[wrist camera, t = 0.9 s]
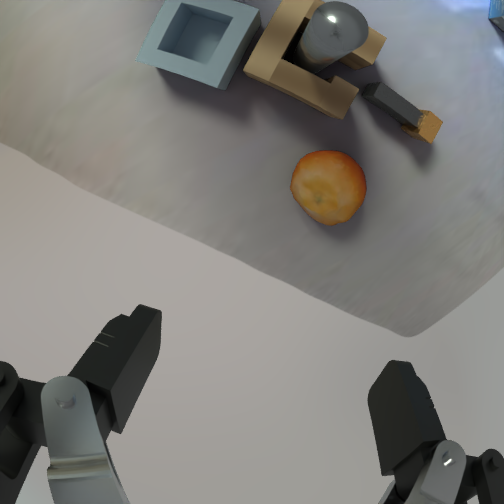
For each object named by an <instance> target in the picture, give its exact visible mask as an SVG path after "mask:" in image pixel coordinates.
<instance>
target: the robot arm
mask: <svg viewBox="0 0 504 504" xmlns="http://www.w3.org/2000/svg"><path fill="white" fill-rule="evenodd" d="M161 321H162V312H161V311H160V310H157V309H154V308H151V307H148V306H144V305H141V304H140V305H138V306H137V307H136V309H135V310H134V311H133V312H132V314H131V315H130V317H129V316H126V315H123V314H121V315H119V316H117V317H115V318H114V319H112V320H110V321H109V322H108V323H107V324H106V326H105V327H104V328H103V330H102V331H101V333H100V334H99V335H98V336H97V337H96V339H95V340H94V342H93V343H92V344H91V345H90V346H89V348H88V349H87V350H86V352H85V353H84V354H83V356H82V357H81V358H80V360H79V361H78V362H77V364H76V365H75V366H74V368H73V370H72V371H71V372H70V373H69V374H68V375H67V376H59V377H56V378H53V379H51V380H50V381H48V382H47V383H41V382H36V381H31V380H27V379H23V378H19V377H18V374H17V373H16V370H15V369H14V368H13V366H12V365H10V364H9V363H6V362H3V361H0V504H15V502H16V500H17V497H18V495H19V492H20V490H21V488H22V486H23V483H24V481H25V479H26V476H27V474H28V472H29V470H30V467H31V465H32V463H33V461H34V459H35V457H36V455H37V453H38V451H39V449H40V447H41V446H45V447H48V452H49V456H50V463H51V464H50V467H48V469H47V476H48V482H49V486H50V490H51V493H52V497H53V500H54V503H55V504H130V502H129V500H128V498H127V496H126V494H125V492H124V490H123V487H122V485H121V482H120V480H119V477H118V474H117V472H116V470H115V466H114V464H113V461H112V458H111V455H110V452H109V449H108V446H107V443H106V440H107V437H108V435H109V433H110V431H111V430H112V431H114V432H117V433H119V434H121V433H122V431H123V429H124V427H125V425H126V422H127V420H128V418H129V416H130V414H131V412H132V409H133V408H134V405H135V403H136V401H137V399H138V397H139V395H140V393H141V391H142V389H143V387H144V384H145V382H146V380H147V378H148V376H149V374H150V372H151V370H152V368H153V366H154V364H155V362H156V360H157V357H158V354H159V350H160V343H161ZM430 398H431V397H430V394H429V392H428V389H427V387H426V385H425V384H424V383H423V382H422V381H421V379H420V378H419V377H418V376H417V375H416V373H415V371H414V368H413V366H412V364H411V363H410V362H404V361H396V360H391V361H389V362H388V363H387V365H386V366H385V368H384V369H383V371H382V372H381V374H380V375H379V377H378V378H377V380H376V381H375V382H374V384H373V385H372V387H371V389H370V391H369V394H368V406H369V411H370V416H371V420H372V425H373V430H374V435H375V440H376V445H377V451H378V456H379V462H380V468H381V474H382V476H387V475H394V476H395V480H393V481H392V482H391V483H390V485H389V486H388V488H387V490H386V492H385V493H384V495H383V497H382V498H381V500H380V502H379V503H378V504H467V500H469V499H471V498H472V497H474V496H475V495H478V500H479V504H504V458H503V456H502V455H501V454H500V453H499V452H498V451H497V450H495V449H488V450H486V451H485V452H484V453H483V454H482V455H480V456H479V457H474V456H468V455H465V452H464V450H463V449H462V447H461V446H460V445H459V444H458V443H456V442H454V441H452V440H447V439H446V437H445V434H444V431H443V428H442V425H441V423H440V420H439V417H438V415H437V412H436V409H435V408H434V404H433V402H432V400H431V399H430Z"/></svg>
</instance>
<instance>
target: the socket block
mask: <svg viewBox="0 0 504 504" xmlns="http://www.w3.org/2000/svg"><path fill="white" fill-rule="evenodd" d="M324 3H325V2H323V1H321V0H282V2H281V3H280V5H279V7H278V8H277V10H276V12H275V13H274V15H273V17H272V18H271V20H270V22H269V24H268V25H267V27H266V29H265V31H264V32H263V34H262V36H261V38H260V39H259V41H258V43H257V45H256V47H255V48H254V50H253V52H252V54H251V56H250V58H249V60H248V61H247V63H246V65H245V67H244V69H243V71H244V72H245V74H246V75H247V76H248V77H250V78H253V79H255V80H257V81H260V82H262V83H264V84H266V85H269V86H271V87H273V88H275V89H277V90H279V91H281V92H284V93H286V94H288V95H290V96H292V97H294V98H296V99H298V100H300V101H302V102H304V103H305V104H307V105H309V106H311V107H313V108H315V109H317V110H319V111H320V112H322V113H324V114H326V115H328V116H329V117H333V118H337V119H341V120H343V118H344V116H345V114H346V112H347V111H348V109H349V107H350V105H351V103H352V102H353V100H354V98H355V96H356V94H357V92H358V91H359V89H358V88H356V87H355V86H353V85H352V84H350V83H348V82H347V81H345V80H343V79H341V78H340V77H338V76H336V75H335V76H333V77H330V78H328V79H325V80H323V79H321V78H319V77H317V76H315V75H314V74H312V73H310V72H308V71H306V70H304V69H302V68H300V67H298V66H296V65H294V64H292V63H289V62H287V61H285V60H283V58H284V56H285V54H286V53H287V51H288V49H289V47H290V45H291V44H292V42H293V40H294V38H295V37H296V35H297V33H298V31H299V32H301V33H304V31H305V29H306V27H307V25H308V23H309V21H310V19H311V17H312V15H313V13H314V11H315V10H316V9H317V8H318V7H319V6H320V5H322V4H324ZM368 28H369V34H368V38H367V40H366V42H365V43H364V44H363V45H362V46H361V47H359V48H357V49H356V50H354V51H352V52H350V53H349V54H347V55H345V56H344V57H342V58H340V59H338V61H340V62H342V63H344V64H345V65H347V66H349V67H350V68H352V69H354V70H358V69H361V68H364V67H367V66H370V65H373V63H374V61H375V59H376V57H377V56H378V54H379V52H380V50H381V48H382V46H383V44H384V42H385V41H386V39H387V38H386V37H384V36H383V35H381V34H380V33H378V32H377V31H375V30H374V29H372V28H370V27H369V26H368Z"/></svg>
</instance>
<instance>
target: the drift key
mask: <svg viewBox="0 0 504 504" xmlns="http://www.w3.org/2000/svg"><path fill="white" fill-rule="evenodd" d="M362 97H364V98H365V99H367V100H368V101H370V102H371V103H373V104H375V105H376V106H378V107H379V108H380V109H382V110H383V111H385V112H386V113H388V114H389V115H391V116H392V117H393V118H395V119H396V120H398V121H399V122H400V123H402V124H403V125H402V127H401V129H402V130H403V131H405V132H406V133H407V134H409V135H410V136H411V137H413V138H415V139H418V140H421V141H424V142H427V143H430V144H432V142H433V140H434V138H435V136H436V135H437V133H438V131H439V129H440V127H441V125H442V123H443V122H442V121H441V120H440V119H439V118H438V117H437V116H435V115H434V114H433V113H432V112H431V111H426V110H419V109H417V108H416V107H415V106H413V105H412V104H411V103H410V102H408V101H407V100H406V99H404V98H403V97H402V96H400V95H399V94H397V93H396V92H395V91H393V90H392V89H390V88H389V87H388V86H386V85H385V84H383V83H382V82H377V83H370V84H368V86H367V87H366V89H365V91H364V93H363V95H362Z"/></svg>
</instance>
